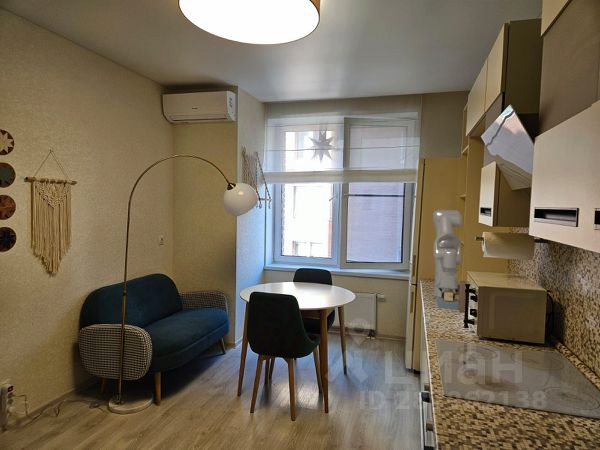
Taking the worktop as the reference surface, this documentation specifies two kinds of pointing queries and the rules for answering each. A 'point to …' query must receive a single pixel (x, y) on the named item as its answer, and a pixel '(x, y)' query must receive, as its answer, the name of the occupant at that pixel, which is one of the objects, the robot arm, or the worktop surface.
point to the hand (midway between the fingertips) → (448, 298)
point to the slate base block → (448, 304)
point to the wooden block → (462, 296)
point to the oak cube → (448, 296)
